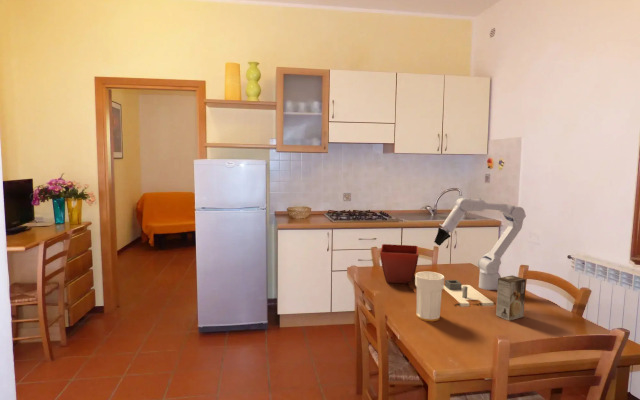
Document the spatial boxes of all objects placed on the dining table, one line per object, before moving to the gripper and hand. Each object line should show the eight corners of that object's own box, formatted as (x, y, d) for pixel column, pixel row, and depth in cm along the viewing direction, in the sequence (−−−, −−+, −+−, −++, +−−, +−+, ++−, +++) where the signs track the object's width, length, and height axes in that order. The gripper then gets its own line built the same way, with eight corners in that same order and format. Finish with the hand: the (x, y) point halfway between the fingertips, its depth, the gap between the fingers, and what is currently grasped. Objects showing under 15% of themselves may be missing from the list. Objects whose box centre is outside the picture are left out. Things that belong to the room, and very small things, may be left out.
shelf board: (469, 287, 195) (469, 275, 195) (493, 306, 171) (494, 291, 171) (439, 288, 194) (440, 275, 193) (460, 306, 170) (461, 292, 170)
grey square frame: (456, 285, 193) (456, 279, 193) (461, 289, 188) (461, 283, 187) (444, 285, 193) (445, 280, 193) (449, 289, 187) (449, 283, 187)
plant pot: (379, 284, 200) (379, 251, 198) (381, 273, 218) (382, 243, 216) (417, 287, 196) (418, 254, 194) (416, 275, 214) (417, 245, 212)
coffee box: (510, 311, 166) (512, 274, 164) (523, 317, 160) (526, 279, 158) (495, 315, 161) (497, 277, 160) (509, 321, 156) (511, 282, 154)
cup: (438, 325, 151) (440, 281, 150) (409, 318, 157) (411, 276, 155) (445, 315, 161) (447, 274, 159) (418, 309, 167) (420, 269, 165)
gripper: (446, 218, 195) (431, 240, 196) (444, 213, 182) (427, 238, 182) (459, 225, 192) (443, 248, 193) (457, 221, 179) (441, 246, 179)
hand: (436, 244), depth 187 cm, fingers open, 7 cm apart
